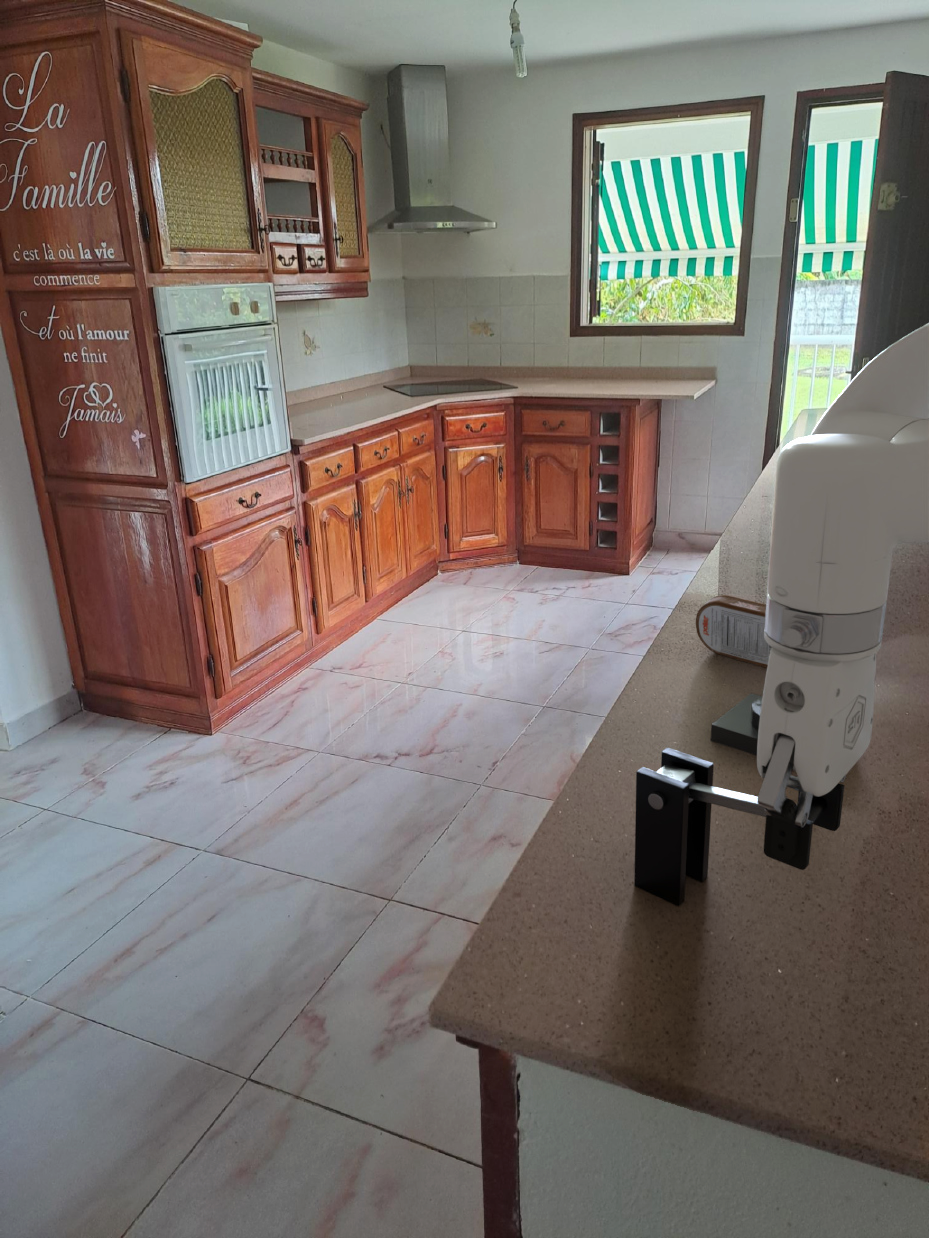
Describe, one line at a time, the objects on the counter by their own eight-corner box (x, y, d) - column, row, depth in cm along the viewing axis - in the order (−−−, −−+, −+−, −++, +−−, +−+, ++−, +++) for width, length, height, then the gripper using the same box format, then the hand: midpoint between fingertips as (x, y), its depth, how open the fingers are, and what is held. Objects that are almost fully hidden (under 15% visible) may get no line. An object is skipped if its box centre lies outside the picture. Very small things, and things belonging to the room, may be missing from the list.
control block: (849, 737, 100) (852, 706, 99) (813, 775, 94) (816, 742, 92) (750, 708, 108) (752, 679, 107) (710, 741, 101) (712, 710, 100)
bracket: (752, 892, 77) (762, 765, 72) (702, 949, 71) (709, 815, 66) (643, 845, 84) (646, 726, 79) (589, 893, 78) (588, 768, 73)
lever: (827, 818, 67) (826, 790, 67) (800, 849, 64) (798, 820, 63) (676, 782, 76) (673, 757, 76) (645, 808, 73) (642, 782, 72)
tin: (803, 669, 117) (808, 611, 114) (792, 678, 115) (797, 618, 112) (702, 642, 127) (705, 588, 124) (691, 649, 125) (693, 594, 122)
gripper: (829, 678, 52) (804, 924, 59) (922, 593, 63) (892, 807, 70) (712, 649, 57) (702, 880, 63) (818, 575, 68) (799, 777, 75)
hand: (802, 839), depth 67 cm, fingers closed on lever, 5 cm apart
